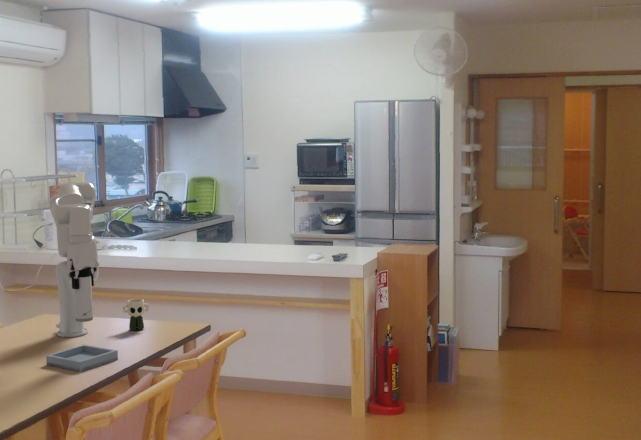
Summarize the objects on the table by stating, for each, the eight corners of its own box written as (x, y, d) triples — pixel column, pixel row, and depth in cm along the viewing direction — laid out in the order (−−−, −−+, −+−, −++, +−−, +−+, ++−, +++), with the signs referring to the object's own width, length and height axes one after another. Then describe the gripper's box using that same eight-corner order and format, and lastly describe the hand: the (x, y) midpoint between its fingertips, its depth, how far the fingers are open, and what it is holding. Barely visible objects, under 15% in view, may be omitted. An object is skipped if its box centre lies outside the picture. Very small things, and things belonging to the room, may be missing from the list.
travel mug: (88, 322, 285) (86, 268, 283) (72, 321, 286) (70, 268, 284) (96, 318, 291) (94, 266, 289) (80, 318, 292) (78, 265, 290)
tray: (46, 364, 284) (46, 355, 284) (84, 353, 300) (84, 344, 299) (80, 371, 275) (79, 362, 275) (117, 359, 290) (117, 350, 290)
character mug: (124, 332, 332) (122, 302, 331) (123, 328, 339) (122, 299, 338) (150, 330, 335) (148, 301, 334) (149, 326, 342) (147, 297, 341)
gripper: (91, 236, 295) (93, 282, 296) (55, 241, 280) (57, 290, 282) (105, 237, 291) (107, 284, 293) (69, 242, 276) (71, 292, 278)
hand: (83, 286), depth 287 cm, fingers closed on travel mug, 6 cm apart
